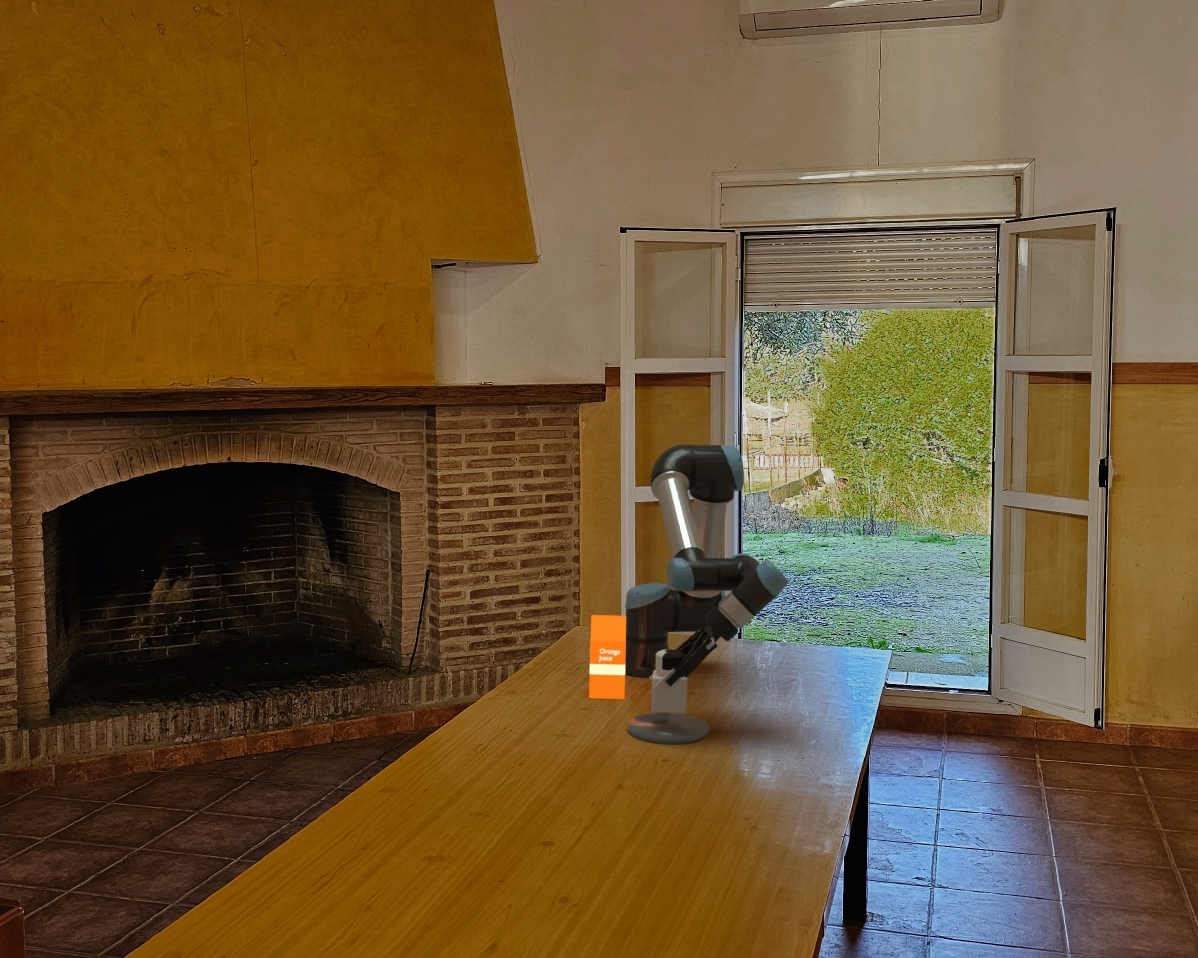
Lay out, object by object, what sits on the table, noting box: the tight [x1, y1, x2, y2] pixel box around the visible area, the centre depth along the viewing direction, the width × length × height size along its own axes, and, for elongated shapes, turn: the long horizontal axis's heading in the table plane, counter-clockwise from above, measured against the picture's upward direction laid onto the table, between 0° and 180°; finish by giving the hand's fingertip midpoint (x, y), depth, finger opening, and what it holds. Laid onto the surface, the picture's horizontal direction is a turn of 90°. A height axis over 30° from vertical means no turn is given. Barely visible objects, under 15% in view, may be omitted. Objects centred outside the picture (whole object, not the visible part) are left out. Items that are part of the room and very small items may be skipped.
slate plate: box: [627, 712, 709, 745], centre depth 250 cm, size 18×18×2 cm
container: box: [650, 648, 689, 715], centre depth 249 cm, size 8×8×13 cm
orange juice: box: [588, 614, 626, 700], centre depth 279 cm, size 8×9×20 cm
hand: (654, 687), depth 249 cm, fingers closed on container, 8 cm apart
